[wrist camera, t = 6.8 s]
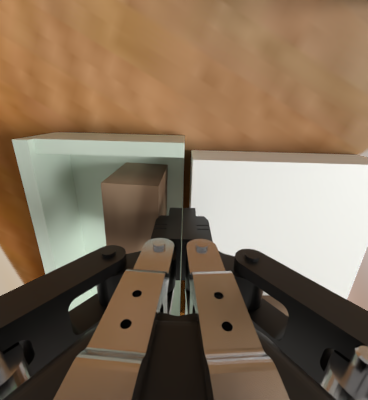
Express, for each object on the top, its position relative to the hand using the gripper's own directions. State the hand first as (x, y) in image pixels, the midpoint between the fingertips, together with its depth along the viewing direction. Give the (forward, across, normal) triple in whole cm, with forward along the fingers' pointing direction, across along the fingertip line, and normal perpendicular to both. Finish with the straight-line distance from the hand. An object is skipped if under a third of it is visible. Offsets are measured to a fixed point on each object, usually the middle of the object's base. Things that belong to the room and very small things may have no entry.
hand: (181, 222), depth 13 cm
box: (+5, +4, +4) cm, 8 cm away
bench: (+5, -6, +4) cm, 9 cm away
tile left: (+2, +1, 0) cm, 2 cm away
